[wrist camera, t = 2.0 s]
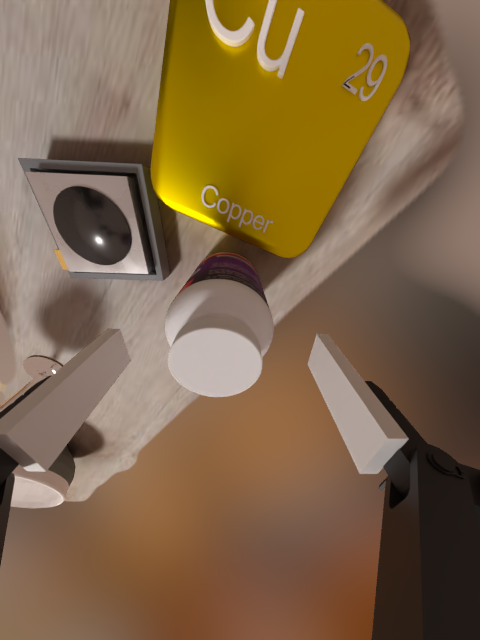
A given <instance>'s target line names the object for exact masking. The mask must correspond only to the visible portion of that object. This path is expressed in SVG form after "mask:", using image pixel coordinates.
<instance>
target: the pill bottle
mask: <svg viewBox="0 0 480 640" xmlns="http://www.w3.org/2000/svg"><path fill="white" fill-rule="evenodd" d="M273 329H274V327H273V319H272V315H271V312H270V309H269V306H268V304H267V300H266V297H265V294H264V291H263V288H262V285H261V282H260V279H259V276H258V274H257V272H256V270H255V268H254V266H253V265H252V264H251V263H250V262H249V261H248V260H247V259H246V258H244V257H242V256H240V255H238V254H235V253H231V252H220V253H216V254H213V255H211V256H209V257H207V258H206V259H204V260H203V261H202V262H201V263H200V265H199V266H198V267H197V269H196V270H195V271H194V273H193V274H192V276H191V277H190V278H189V280H188V281H187V283H186V284H185V285H184V287H183V288H182V289H181V291H180V292H179V293H178V295H177V296H176V297H175V299H174V300H173V302H172V303H171V305H170V307H169V309H168V312H167V315H166V320H165V332H166V337H167V340H168V343H169V345H170V347H171V348H170V350H169V354H168V366H169V369H170V372H171V374H172V375H173V377H174V378H175V379H176V381H177V382H178V383H180V384H181V385H182V386H183V387H185V388H186V389H188V390H190V391H192V392H195V393H197V394H200V395H205V396H211V397H225V396H231V395H235V394H238V393H241V392H243V391H245V390H247V389H248V388H249V387H251V386H252V385H253V384H254V383H255V382H256V381H257V379H258V378H259V376H260V373H261V371H262V357H263V356H264V354H265V353H266V352H267V350H268V348H269V346H270V344H271V341H272V337H273Z"/></svg>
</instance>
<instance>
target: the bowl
mask: <svg viewBox="0 0 480 640" xmlns="http://www.w3.org/2000/svg"><path fill="white" fill-rule="evenodd" d="M12 473H13V474H14V476H15V482H14V487H13V493H12V499H11V505H10V506H12V507H22V508H45V507H53V506H57V505H59V504H61V503H62V502H63V501H64V500H65V498H66V493H67V490H68V488H69V486H70V484H71V482H72V480H73V478H74V474H75V463H74V460H73V457H72V455H71V454H70V452H69V448H68V447H67V446H65V448H64V449H63V450H62V452H61V453H60V454H59V456H58V457H57V458H56V460H55V461H54V462H53V464H52V465H51V466H50V467H49V469H48V470H47V471H46V472H39V471H26V470H25V469H24V468H23V467H21V466H20V465H18V466H17V467H16V468H15V470H14V471H13V472H12Z"/></svg>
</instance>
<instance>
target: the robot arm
mask: <svg viewBox="0 0 480 640" xmlns="http://www.w3.org/2000/svg"><path fill="white" fill-rule="evenodd" d="M130 361H131V360H130V357H129V354H128V351H127V349H126V346H125V343H124V340H123V337H122V334H121V331H120V329H107V330H106V331H104V332H103V333H102V334H101V335H100V336H98V337H97V338H96V339H95V340H94V341H93V342H91V343H90V344H89V345H88V346H87V347H85V348H84V349H83V350H82V351H81V352H79V353H78V354H77V355H76V356H75V357H73V358H72V359H71V360H70V361H69V362H68V363H66V364H65V365H64V366H63V367H62V368H60V369H59V370H58V371H57V372H56V373H54V374H53V375H52V376H48V377H46V378H45V379H43V380H41V381H39V382H38V383H36V384H35V385H33V386H32V387H31V388H30V389H28V390H27V391H26V392H25V393H24V395H21V396H20V397H19V398H17V399H16V400H15V401H14V403H11V404H10V405H9V406H7V407H6V408H5V409H4V410H2V411H1V412H0V565H1V558H2V552H3V547H4V541H5V535H6V529H7V523H8V517H9V511H10V505H11V499H12V493H13V487H14V482H15V476H14V474H13V473H12V472H13V471H14V470H15V468H16V467H17V466H18V465H20V466H21V467H23V468H24V469H25V470H26V471H39V472H46V471H47V470H48V469H49V467H50V466H51V465H52V464H53V462H54V461H55V460H56V458H57V457H58V456H59V454H60V453H61V452H62V450H63V449H64V448H65V446H66V445H67V444H68V442H69V441H70V440H71V439H72V437H73V436H74V435H75V433H76V432H77V431H78V429H79V428H80V427H81V425H82V424H83V423H84V421H85V420H86V419H87V418H88V416H89V415H90V414H91V412H92V411H93V410H94V408H95V407H96V406H97V404H98V403H99V402H100V400H101V399H102V398H103V396H104V395H105V394H106V393H107V391H108V390H109V389H110V387H111V386H112V385H113V383H114V382H115V381H116V379H117V378H118V377H119V375H120V374H121V373H122V371H123V370H124V369H125V368H126V366H127V365H128V364H129V362H130ZM308 366H309V368H310V370H311V372H312V374H313V377H314V379H315V381H316V383H317V385H318V387H319V389H320V391H321V393H322V396H323V398H324V400H325V402H326V404H327V406H328V408H329V410H330V412H331V414H332V416H333V418H334V421H335V423H336V425H337V427H338V429H339V431H340V433H341V435H342V438H343V440H344V442H345V444H346V446H347V448H348V450H349V452H350V454H351V457H352V459H353V461H354V463H355V465H356V467H357V469H358V471H359V473H360V474H377V473H378V472H379V471H380V470H381V469H382V468H383V467H384V469H385V471H386V472H387V474H388V477H387V478H386V479H385V480H384V481H383V482H382V483H381V484H380V486H379V489H380V490H382V489H384V488H385V497H384V508H383V519H382V530H381V542H380V553H379V564H378V576H377V586H376V597H375V609H374V619H373V631H372V640H480V470H478V469H475V468H472V467H468V466H466V465H462V464H459V463H458V462H457V461H456V460H454V459H453V458H452V457H451V456H450V455H449V454H447V453H446V452H444V451H443V450H441V449H440V448H437V447H435V446H432V445H429V444H427V443H426V441H424V439H423V438H422V437H421V436H420V435H419V433H418V432H417V431H416V430H415V429H414V427H413V426H412V425H411V424H410V423H409V422H408V420H407V419H406V418H405V417H404V416H403V414H402V413H401V412H400V411H399V410H398V409H397V408H396V406H395V405H394V404H393V402H392V401H390V400H389V398H388V396H387V395H386V394H385V393H384V392H383V390H382V389H380V388H379V387H378V386H377V385H375V384H374V383H373V382H371V381H364V380H363V379H362V378H361V376H360V375H359V374H358V372H357V371H356V370H355V369H354V367H353V366H352V365H351V363H350V362H349V361H348V360H347V358H346V357H345V356H344V354H343V353H342V352H341V351H340V349H339V348H338V347H337V346H336V344H335V343H334V342H333V340H332V339H331V338H330V336H329V335H328V334H317V335H316V338H315V341H314V345H313V348H312V352H311V355H310V358H309V362H308Z"/></svg>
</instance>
